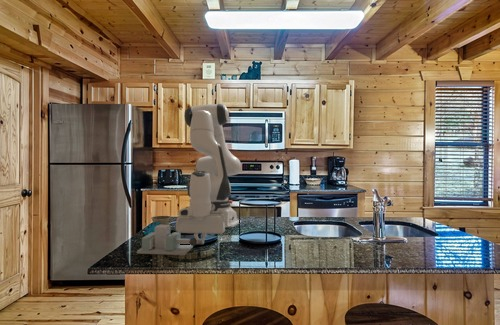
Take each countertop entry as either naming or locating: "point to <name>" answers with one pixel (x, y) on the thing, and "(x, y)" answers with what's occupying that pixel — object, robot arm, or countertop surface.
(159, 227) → the block
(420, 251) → the countertop surface
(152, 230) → the gear
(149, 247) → the vise
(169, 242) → the jaw
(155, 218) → the flower pot
